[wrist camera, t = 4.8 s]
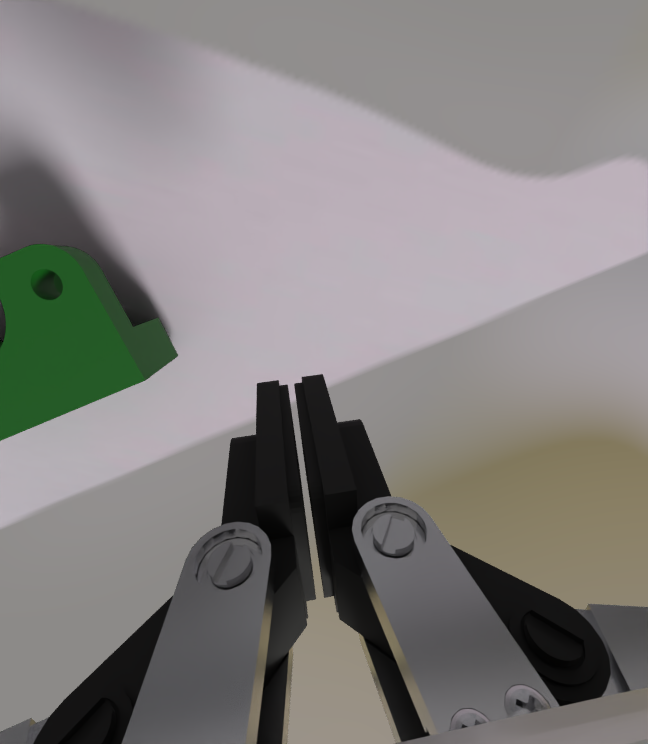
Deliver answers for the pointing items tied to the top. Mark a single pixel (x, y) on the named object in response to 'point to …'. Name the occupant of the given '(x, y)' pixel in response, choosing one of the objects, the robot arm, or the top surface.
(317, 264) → the top surface
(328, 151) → the top surface
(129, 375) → the clamp
